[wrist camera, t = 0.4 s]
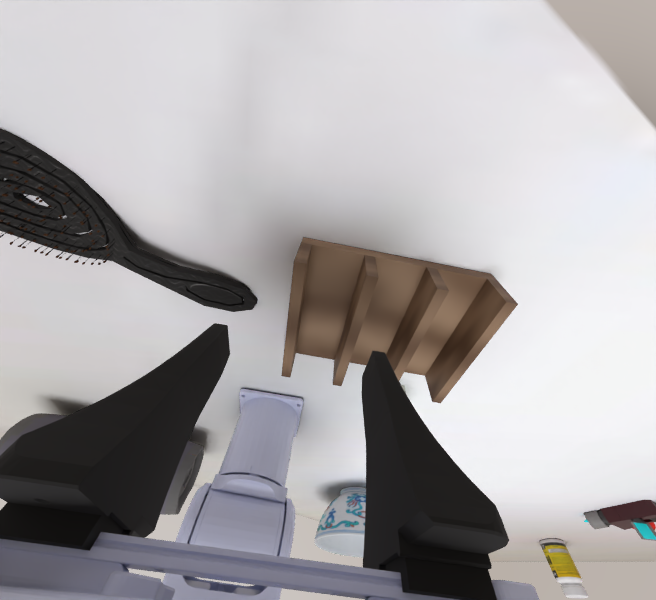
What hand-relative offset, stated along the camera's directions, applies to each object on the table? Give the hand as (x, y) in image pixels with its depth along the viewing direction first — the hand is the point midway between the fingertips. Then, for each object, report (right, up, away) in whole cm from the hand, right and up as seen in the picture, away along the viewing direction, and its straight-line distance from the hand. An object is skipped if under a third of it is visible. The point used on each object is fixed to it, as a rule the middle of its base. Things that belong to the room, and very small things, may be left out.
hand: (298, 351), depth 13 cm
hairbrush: (-16, +8, +9) cm, 20 cm away
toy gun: (+55, -35, +34) cm, 74 cm away
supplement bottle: (+52, -52, +46) cm, 87 cm away
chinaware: (+7, -35, +37) cm, 52 cm away
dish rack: (+6, +1, +11) cm, 12 cm away
